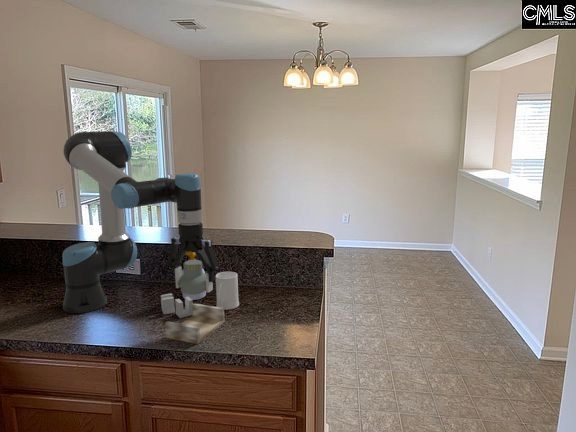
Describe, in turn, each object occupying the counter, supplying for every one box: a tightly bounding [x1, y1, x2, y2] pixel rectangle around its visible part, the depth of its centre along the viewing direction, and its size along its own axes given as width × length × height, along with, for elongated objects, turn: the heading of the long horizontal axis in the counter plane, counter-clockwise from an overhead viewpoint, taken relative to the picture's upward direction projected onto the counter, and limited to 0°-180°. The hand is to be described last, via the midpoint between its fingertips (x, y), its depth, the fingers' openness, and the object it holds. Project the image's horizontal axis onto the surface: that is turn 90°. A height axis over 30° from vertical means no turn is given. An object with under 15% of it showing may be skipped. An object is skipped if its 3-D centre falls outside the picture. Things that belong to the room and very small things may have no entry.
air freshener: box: [180, 259, 206, 295], centre depth 140 cm, size 11×8×10 cm
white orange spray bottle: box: [181, 251, 207, 301], centre depth 170 cm, size 9×9×25 cm
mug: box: [215, 271, 240, 311], centre depth 161 cm, size 12×8×12 cm
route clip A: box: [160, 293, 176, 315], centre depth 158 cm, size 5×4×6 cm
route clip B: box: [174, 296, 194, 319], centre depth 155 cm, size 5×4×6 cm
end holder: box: [164, 302, 226, 345], centre depth 144 cm, size 12×17×5 cm
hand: (194, 288), depth 141 cm, fingers closed on air freshener, 11 cm apart
